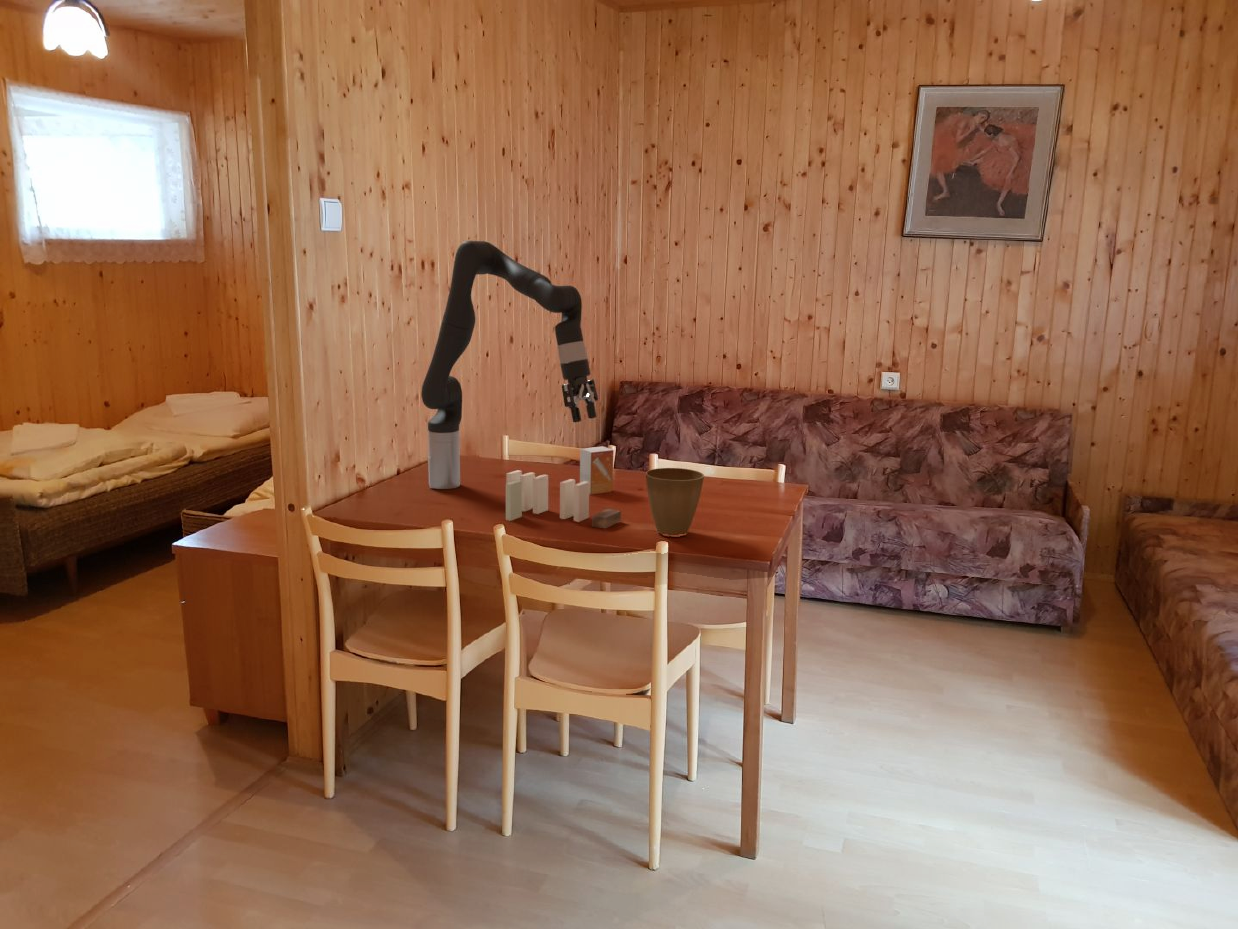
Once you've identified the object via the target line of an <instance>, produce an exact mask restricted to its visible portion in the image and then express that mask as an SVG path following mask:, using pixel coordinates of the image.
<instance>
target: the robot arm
mask: <svg viewBox="0 0 1238 929" xmlns="http://www.w3.org/2000/svg"><path fill="white" fill-rule="evenodd" d="M451 275H452V276H451V283H450V288H449V293H448V296H447V302H446V305H445V309H444V313H443V315H442V319H441V324H440V327H439V332H438V337H437V341H436V344H435V348H434V351H433V355H432V357H431V358H432V359H431V361H430V364H429V366H428V370H427V372H426V375H425V376H424V377H425V378H424V379H423V383H422V385H421V386H422V387H421V393H420V394H421V399H422V400H421V401H422V403H423V405H424V406H425V408H427V409H430V410H436V413H435V415H434V416H433V417H432V418H430V419H429V420H428V422H427V439H428V441H427V443H428V444H427V446H428V454H427V456H428V457H427V458H428V459H427V460H428V462H427V467H428V485H429V489H437V490H451V489H456V488H458V487H460V486H461V460H460V458H461V457H460V456H461V455H460V424H461V422H462V414H463V389H462V385H461V383H460V382H459V380H458V379H457V378H456V377H455V376H452V375H450V374H451V372H452V370H453V367H454V366H455V364H456V363H457V361H458V360H459V359H460V357H461V356H462V355H463V354H464V352H465V351H466V349H467V348H468V346H469V344H470V342H471V340H472V336H473V333H474V328H475V327H476V326H475V325H476V312H475V308H474V304H473V300H472V292H473V291H472V289H473V286H474V282H475V278H476V276H477V275H492V276H495V277H498V278H502V279H503V280H504V281H506V282H508V284H509V285H510V286H511V287H512V288H513V289H514V290H515V291H517V292H518V293H520V294H522V295H523V296H526V297H528V298H530V299H532V300H534V301H535V302H536V303H537V304H538V305H539V306H540V307H542V308H543V309H544V310H546V311H548V312H551V313H555V314H561V317H560V318H561V321H560V322H558V323H557V324H556V325H555V327H554V333H555V340H556V344H557V353H558V359H559V364H560V365H559V366H560V371H561V375H562V380H564V381H567V383H563V384H561V390H562V397H563V405H564V407H565V408H568V409H570V412H571V419H572V422H573V423H579V422H582V416H581V411H580V407H579V404H580V401H581V400H583V401H584V403H585V405H586V406H585V407H586V412H587V417H588V419H595V418H597V412H596V407H595V404H596V402H597V401H598V399H599V397H598V396H599V395H598V392H597V388H596V387H597V386H596V384H595V379H593V378H592V379H588V378H587V377H588V376H590V375H591V370H590V364H589V358H588V352H587V348H586V345H585V342H584V336H583V331H582V327H581V326H582V313H583V312H582V309H583V308H582V306H583V305H582V303H583V302H582V301H583V300H582V297H581V294H580V292H579V291H578V289H577V288H576V287H575V286H573V285H555V284H552V281H551V280H550V279H549V278H548V277H547V276H546V275H544V274H541V273H540V272H538V271H535V270H533V269H531V268H529V267H527V266H525V265H523V264H521V263H520V262H518V261H516V260H515V259H513V258H511V257H510V256H509V255H507V254H506V253H504V252H503V251H501V249H500V248H498V247H497V246H495V245H494V244H492V243H490V242H488V241H485V240H484V241H483V240H465V241H463V242H461V243H460V244H459V246H458V248H457V250H456V252H455V256H454V262H453V269H452V274H451Z"/></svg>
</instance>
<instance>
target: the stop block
mask: <svg viewBox="0 0 1238 929" xmlns="http://www.w3.org/2000/svg"><path fill="white" fill-rule="evenodd" d="M621 518H622V511H621V510H617V509H613V508H607V509H604V510H601V511H599V512H596V513H595V514H592V515H591V527H593V528H597V529H603V528H604V530H605V528H606V529H607V528H610V527H612V526H614V524H615V523H617V522H619V521H621V520H622V519H621ZM621 522H622V521H621ZM619 523H620V522H619ZM617 524H618V523H617ZM615 525H616V524H615Z"/></svg>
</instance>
